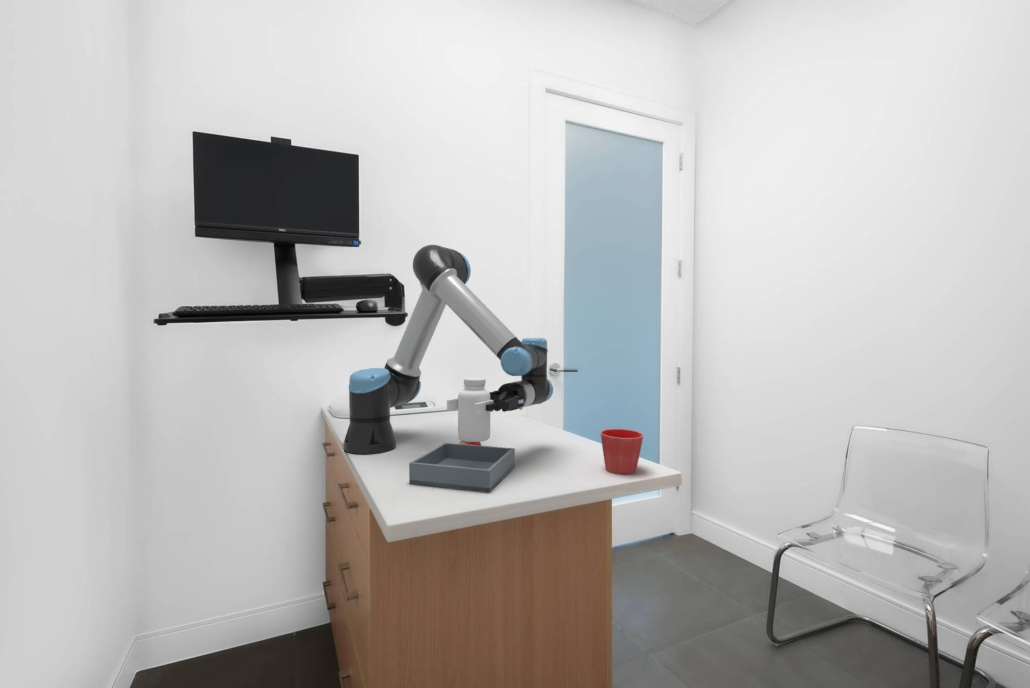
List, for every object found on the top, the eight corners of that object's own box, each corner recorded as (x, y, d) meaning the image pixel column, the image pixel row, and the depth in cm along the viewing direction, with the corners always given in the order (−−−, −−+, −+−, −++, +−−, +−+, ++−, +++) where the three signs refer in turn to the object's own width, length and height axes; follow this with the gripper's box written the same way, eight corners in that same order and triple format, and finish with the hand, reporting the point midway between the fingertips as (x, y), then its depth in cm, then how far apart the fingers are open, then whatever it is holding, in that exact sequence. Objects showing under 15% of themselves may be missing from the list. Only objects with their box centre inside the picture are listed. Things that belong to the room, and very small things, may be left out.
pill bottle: (495, 436, 126) (495, 377, 125) (482, 444, 118) (483, 381, 117) (466, 433, 128) (466, 376, 127) (452, 441, 120) (452, 379, 120)
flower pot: (636, 464, 134) (637, 428, 134) (646, 476, 123) (647, 438, 123) (597, 463, 134) (597, 428, 134) (603, 476, 124) (604, 437, 123)
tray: (409, 483, 117) (409, 463, 117) (444, 460, 136) (444, 442, 136) (489, 492, 111) (489, 470, 111) (514, 467, 131) (514, 448, 130)
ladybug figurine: (449, 454, 144) (449, 442, 144) (468, 446, 153) (468, 435, 152) (468, 457, 141) (469, 444, 141) (487, 449, 149) (487, 437, 149)
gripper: (547, 413, 132) (496, 428, 113) (485, 405, 143) (429, 417, 125) (547, 385, 131) (496, 396, 113) (485, 379, 143) (429, 388, 124)
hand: (461, 407), depth 119 cm, fingers closed on pill bottle, 8 cm apart
